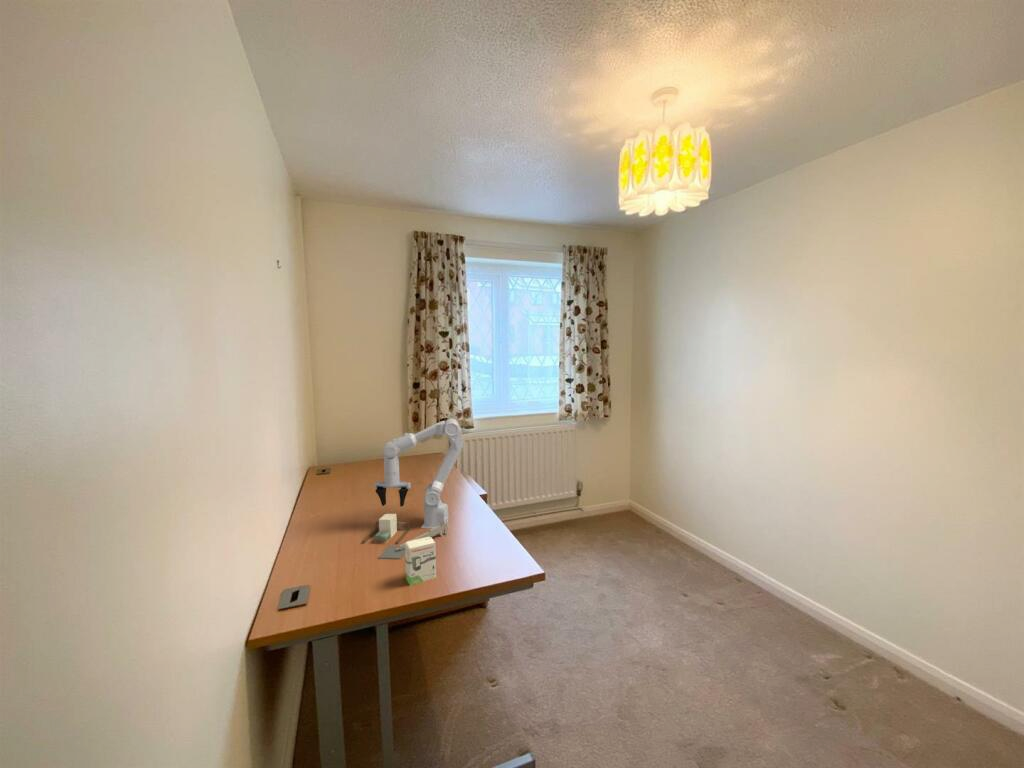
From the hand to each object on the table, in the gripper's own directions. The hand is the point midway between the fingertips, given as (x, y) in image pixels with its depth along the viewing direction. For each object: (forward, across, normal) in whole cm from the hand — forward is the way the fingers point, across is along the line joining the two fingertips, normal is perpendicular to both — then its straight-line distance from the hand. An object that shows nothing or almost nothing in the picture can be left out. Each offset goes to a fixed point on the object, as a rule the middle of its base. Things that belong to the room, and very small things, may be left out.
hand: (393, 505), depth 161 cm
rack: (+10, 0, +7) cm, 12 cm away
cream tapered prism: (+10, 0, +5) cm, 12 cm away
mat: (+10, -8, +19) cm, 23 cm away
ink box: (+11, -24, +34) cm, 42 cm away
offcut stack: (+11, 0, +11) cm, 15 cm away
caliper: (+11, -16, +11) cm, 22 cm away
